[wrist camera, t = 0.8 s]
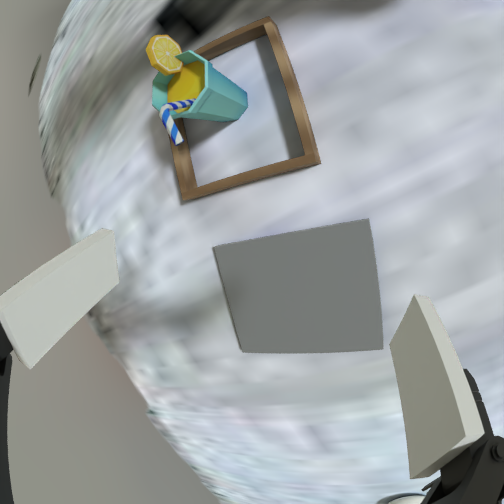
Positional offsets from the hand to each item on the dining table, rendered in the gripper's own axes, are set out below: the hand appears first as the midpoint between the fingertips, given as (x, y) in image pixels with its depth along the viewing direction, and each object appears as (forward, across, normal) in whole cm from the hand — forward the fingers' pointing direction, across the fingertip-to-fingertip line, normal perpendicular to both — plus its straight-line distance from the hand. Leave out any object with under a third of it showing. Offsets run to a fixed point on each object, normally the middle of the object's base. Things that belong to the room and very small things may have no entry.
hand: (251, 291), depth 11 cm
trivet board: (+21, +3, -13) cm, 25 cm away
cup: (+27, -9, +8) cm, 29 cm away
